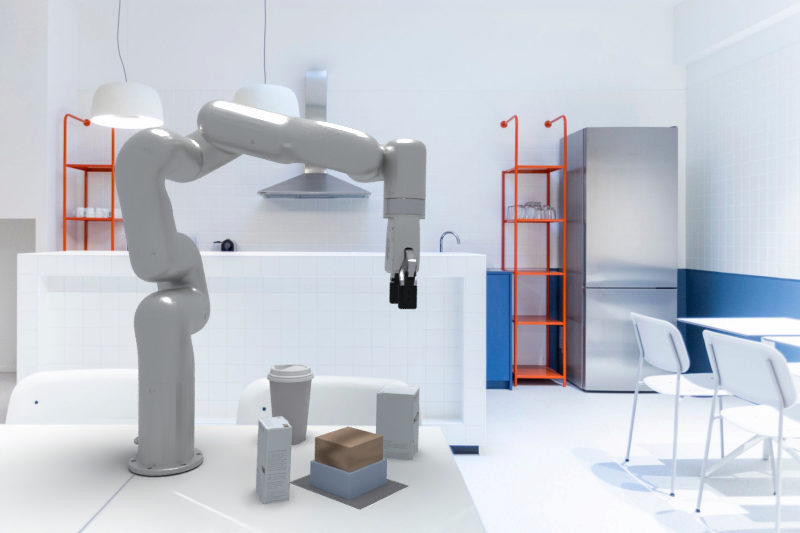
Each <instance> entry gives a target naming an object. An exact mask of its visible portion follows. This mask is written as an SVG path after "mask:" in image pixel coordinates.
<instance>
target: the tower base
mask: <svg viewBox="0 0 800 533" xmlns="http://www.w3.org/2000/svg"><path fill="white" fill-rule="evenodd" d="M309 465H310V466H309V468H310V469H309V472H310V473H309V475H310V485H311V486H314V487H316V488H319V489H322V490H325V491H327V492H330V493H333V494H335V495H338V496H341V497H343V498H346V499H349V500H351V499H353V498H355V497H357V496H359V495H362V494H364V493H366V492H368V491H370V490H373V489H375V488H377V487H379V486H381V485H383V484H386V483H387V479H388V478H387V477H388V459H387V458H385V457H383V460H380V461H378V462H376V463H373V464H371V465H368V466H366V467H363V468H361V469H358V470H356V471H353V472H351V473H349V472H346V471H343V470H340V469H337V468H334V467H331V466H328V465H325V464H322V463H319V462H316V461H315V459H313V460H310V464H309Z"/></svg>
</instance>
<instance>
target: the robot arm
mask: <svg viewBox="0 0 800 533" xmlns="http://www.w3.org/2000/svg"><path fill="white" fill-rule="evenodd" d="M196 125H197V129H196V130H195V131H193V132H191V133H189V134H187V135H185V136H183V135H181V134H179V133H177V132H175V131H174V130H173V131H172V130H170V129H167V128H164V127H147V128H144V129H142V130H139V131H138V132H135V133H134V134H132V135H131V136H130V137H129V138H128V139H127V140H125V142H124V144H122V146H121V147H120V150H119V152H118V154H117V156H116V159H115V165H114V181H115V188H116V192H117V197H118V198H117V199H118V201H119V208H120V211H121V217H122V225H123V230H124V235H125V240H126V244H127V250H128V257H129V260H130V261H129V262H130V265H131V269H132V271H133V273H134V274H135V275H136V277H137V278H139V279H140V280H142V281H144V282H147V283H153V284H155V283H156V287H157V290H156V291H154V292H152V293H149V294H148V295H147V296H145V297H144V298H143V299H142V300H141V301H140V302H139V304H138V305H137V308H136V309H135V312H134V315H133V330H134V337H135V342H136V348H137V349H136V350H137V364H138V366H137V370H138V372H137V373H138V374H137V376H138V377H137V380H138V391H137V392H138V394H137V395H138V397H137V398H138V403H137V406H138V408H137V409H138V412H137V414H138V415H137V416H138V418H137V419H138V420H137V423H138V426H137V428H138V429H137V430H138V432H137V435H138V436H136V437H135V438H134V439H133V444H135V445H137V450H138V451H137V453H136V454H135V455H133V456H132V457H131V458H129V460H128V469H129V470H130V471H131V473H134V474H138V475H141V476H150V477H151V476H152V477H155V476H158V477H159V476H170V475H175V474H176V475H177V474H181V473H184V472H187V471H191V470H192V469H194V468H197V467H199V466H200V465H201V464H202V462H203V461H204V453H203V452H202V450H200V449H198V448H195V425H196V424H195V417H196V416H195V415H196V414H195V412H196V411H195V409H196V407H195V406H196V405H195V404H196V403H195V402H196V401H195V400H196V396H195V395H196V390H195V389H196V388H195V387H196V379H195V378H196V377H195V376H196V374H195V372H196V370H195V369H196V367H195V366H196V365H195V364H196V363H195V352H194V347H193V341H192V335H194V334H197V333H198V332H200V331H201V330H202V329H203V328H204V327H206V325H207V323H208V322H209V319H210V317H211V302H210V294H209V289H208V284H207V279H206V273H205V269H204V264H203V258H202V255H201V251H200V250H199V246H198V245H197V244H196V242H195V241H194V240H193V239H192V238H191V237H190V236H188V235H187V234H185V233H183V232H179V231H178V230H177V226H176V222H175V217H174V210H173V205H172V202H171V199H170V196H169V194H168V192H167V188H166V180H169V181H171V182H174V183H179V184H181V183H182V184H186V183H187V184H188V183H191V182H194V181H197V180H199V179H201V178H203V177H205V176H207V175H209V174H210V173H213V172H214V171H216V170H218V169H220V168H221V167H224V166H226V165H227V164H229V163H230V162H233V161H234V160H236V159H238V158H239V157H241V156H243V155H245V156H250V157H254V158H258V159H262V160H265V161H269V162H272V163H273V162H274V163H277V164H280V165H281V164H282V165H291V164H304V165H310V166H314V167H315V166H316V167H320V168H324V169H328V170H330V171H335V172H339V173H342V174H346V176H348V177H349V178H350V179H351V180H352V181H354V182H357V183H361V184H367V183H368V184H369V183H376V182H383V194H382V195H383V198H382V199H383V202H382V203H383V207H382V208H383V210H382V211H383V212H382V213H383V214H382V218H383V219H387V224H386V225H387V226H386V235H385V251H384V252H385V254H384V271H385V272H386V273H388V274H390V276H389V277H390V278H389V289H388V290H389V297H388V299H389V300H388V302H389V304H391V305H397V308H398V309H400V310H416V309H418V278H417V274H418V272H419V271H420V260H421V259H420V258H421V224H420V223H421V222H420V221H421V220H426V196H427V195H426V194H427V191H426V190H427V186H426V185H427V148H426V144H425V143H424V142H423V141H421V140H418V139H411V138H409V139H408V138H400V139H399V138H396V139H393V140H389V141H388V142H387V143H386V144H385V143H384V144H383V143H379V142H378V141H377V139H376V138H375V137H374V136H372V135H371V134H368V132H367V133H366V132H364V131H361V130H357V129H353V128H351V127H346V126H342V125H339V124H336V123H335V124H334V123H330V122H327V121H321V120H316V119H309V118H308V119H307V118H304V117H303V118H302V117H298V116H291V115H286V114H283V113H279V112H275V111H270V110H267V109H266V110H265V109H262V108H259V107H256V106H251V105H247V104H243V103H239V102H236V101H232V100H226V99H212V100H210V101H208V102H205V103H204V104H203V105H202V106H201V108H200V109H199V111H198V114H197V116H196Z"/></svg>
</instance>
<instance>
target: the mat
mask: <svg viewBox="0 0 800 533" xmlns="http://www.w3.org/2000/svg"><path fill="white" fill-rule="evenodd" d="M290 484H292V485H294V486H296V487H298V488H301V489H305V490H306V491H310V492H313V493H315V494H318V495H321V496H323V497H326V498H328V499H331V500H334V501H336V502H339V503H342V504H344V505H346V506H350V507H351V508H352V507H353V508H355V509H357V510H362V509H364V508H367V507H368V506H371V505H372V504H375V503H377V502H379V501H380V500H383V499H384V498H387V497H389V496H391V495H393V494H395V493H397V492H399V491H402V490H403V489H405V488H408V487H409V485H408V484H405V483H401V482H398V481H395V480H392V479H389V478H387V483H386V484H383V485H381V486H379V487H377V488H375V489H373V490H370V491H368V492H366V493H364V494H362V495H359V496H357V497H355V498H353V499H351V500H349V499H346V498H343V497H341V496H338V495H335V494H333V493H330V492H327V491H325V490H322V489H319V488H316V487H314V486H311V485H310V474H308V475H304V476H302V477H299V478H297V479H294V480H292V481H291V480H290Z"/></svg>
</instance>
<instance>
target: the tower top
mask: <svg viewBox="0 0 800 533" xmlns="http://www.w3.org/2000/svg"><path fill="white" fill-rule="evenodd" d="M383 458H384V457H383V436H382V435H378V434H376V432H375V433H374V432H372V431H371V432H370V431H367V430H362V429H359V428H356V427H352V426H345V427H342V428H340V429H337V430H334V431H330V432H329V431H328V433H327V432H326V433H324V434H321V435H320V434H319V435H317V436H315V437H314V460H315V461H316V462H319V463H322V464H325V465H328V466H331V467H334V468H337V469H340V470H343V471H346V472H349V473H351V472H353V471H356V470H358V469H361V468H363V467H366V466H368V465H371V464H373V463H376V462H378V461H380V460H383Z"/></svg>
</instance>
